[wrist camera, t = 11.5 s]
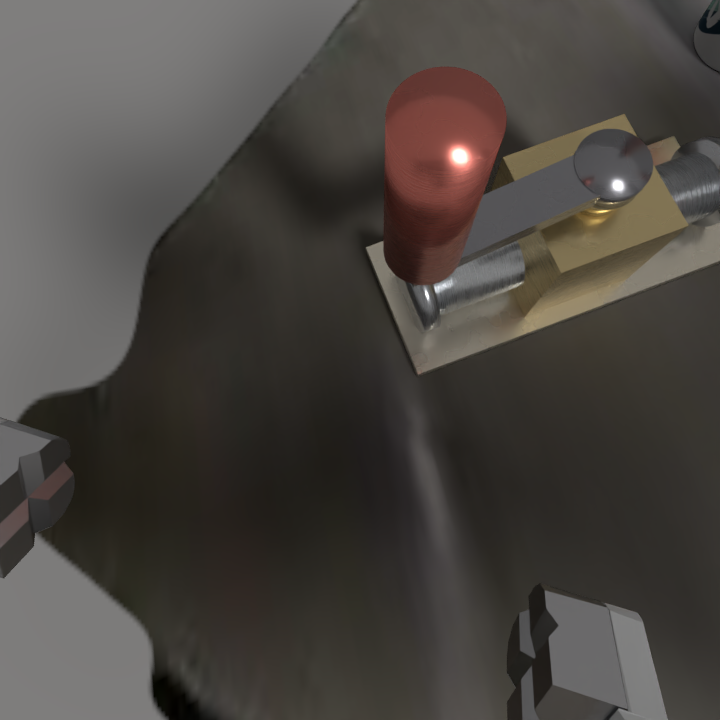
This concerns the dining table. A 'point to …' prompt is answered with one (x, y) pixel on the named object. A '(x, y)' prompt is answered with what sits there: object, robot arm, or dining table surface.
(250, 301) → the dining table surface
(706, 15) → the lotion bottle
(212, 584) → the dining table surface
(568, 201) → the lever
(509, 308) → the pipe valve
